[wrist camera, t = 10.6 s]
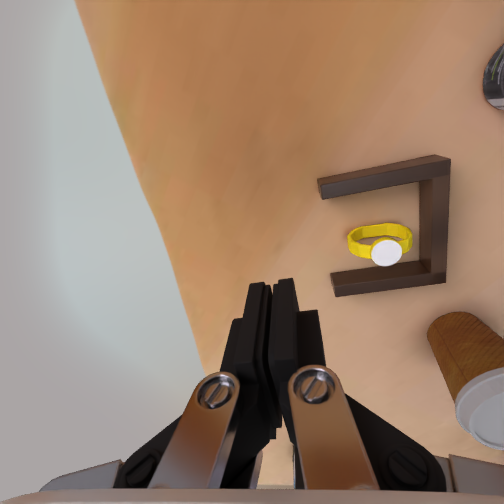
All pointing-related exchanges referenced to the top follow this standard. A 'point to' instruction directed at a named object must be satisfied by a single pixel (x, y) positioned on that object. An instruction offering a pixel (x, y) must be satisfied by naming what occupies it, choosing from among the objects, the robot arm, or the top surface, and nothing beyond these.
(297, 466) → the ink cartridge
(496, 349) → the disposable coffee cup
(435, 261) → the bay
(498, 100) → the pill bottle
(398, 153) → the top surface
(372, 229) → the watch
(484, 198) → the top surface
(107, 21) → the top surface
